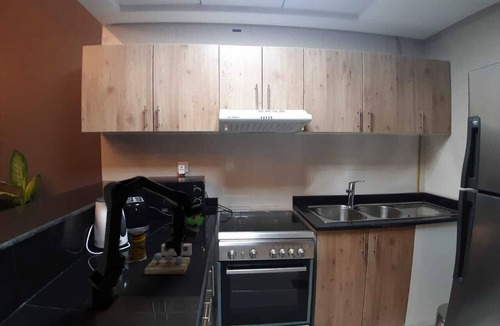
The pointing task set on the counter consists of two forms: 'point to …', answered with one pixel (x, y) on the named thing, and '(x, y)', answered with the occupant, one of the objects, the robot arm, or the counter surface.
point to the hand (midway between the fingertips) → (179, 255)
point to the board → (167, 267)
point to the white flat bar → (185, 251)
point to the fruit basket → (196, 220)
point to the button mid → (168, 257)
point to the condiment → (137, 247)
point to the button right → (179, 260)
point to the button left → (158, 257)
